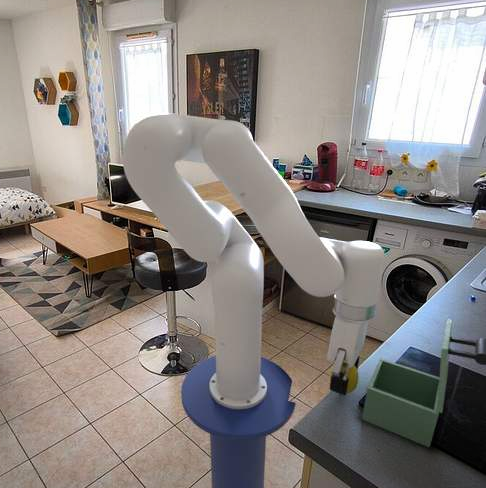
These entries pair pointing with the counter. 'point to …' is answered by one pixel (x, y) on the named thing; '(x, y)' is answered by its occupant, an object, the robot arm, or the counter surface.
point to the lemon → (350, 377)
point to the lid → (482, 355)
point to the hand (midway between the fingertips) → (343, 379)
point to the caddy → (403, 401)
